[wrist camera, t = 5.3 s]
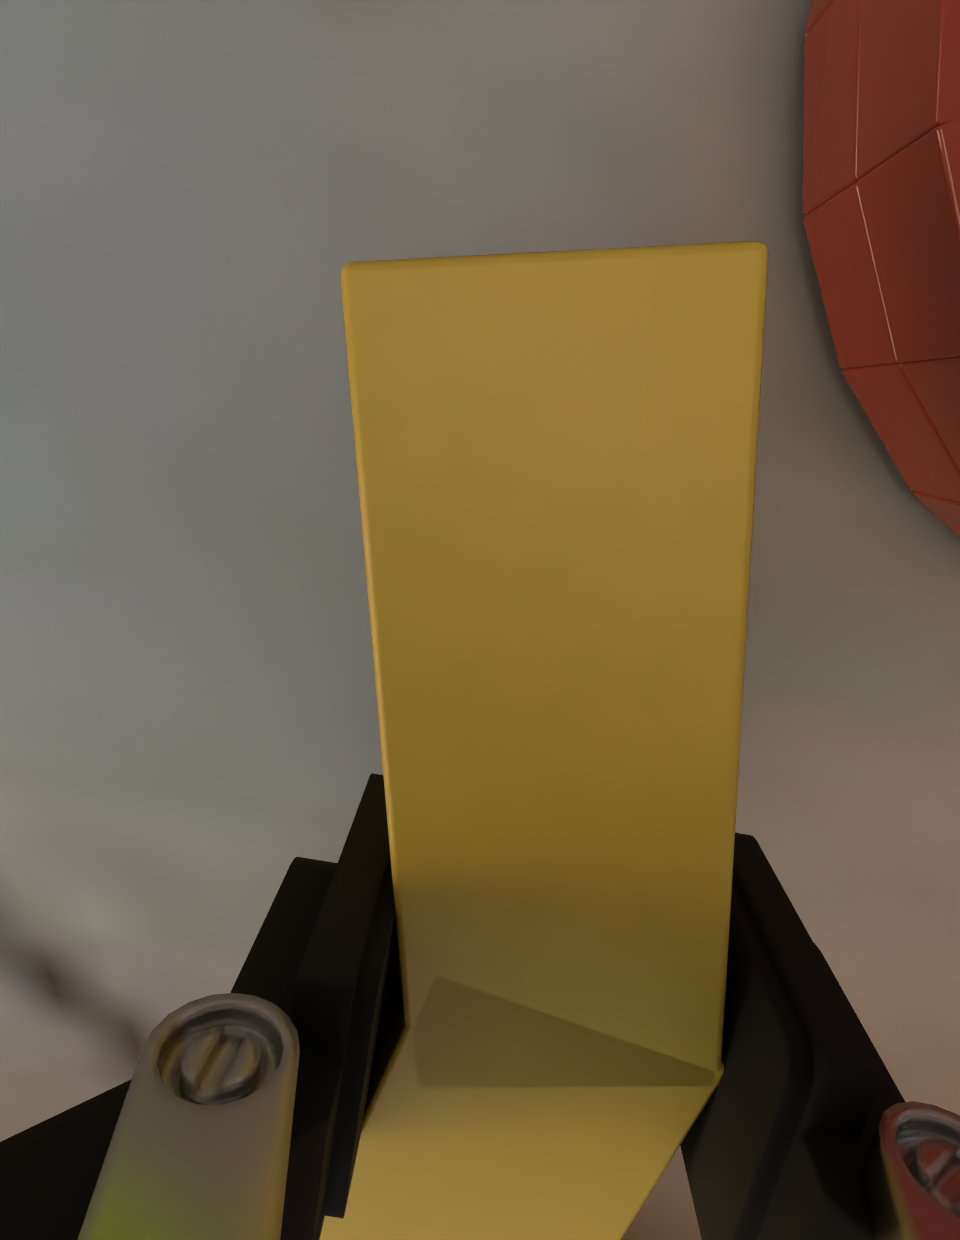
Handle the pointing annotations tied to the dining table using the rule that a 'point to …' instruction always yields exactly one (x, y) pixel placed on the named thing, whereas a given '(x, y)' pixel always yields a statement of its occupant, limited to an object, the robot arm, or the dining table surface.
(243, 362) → the dining table surface
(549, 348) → the banana
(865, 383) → the bowl
